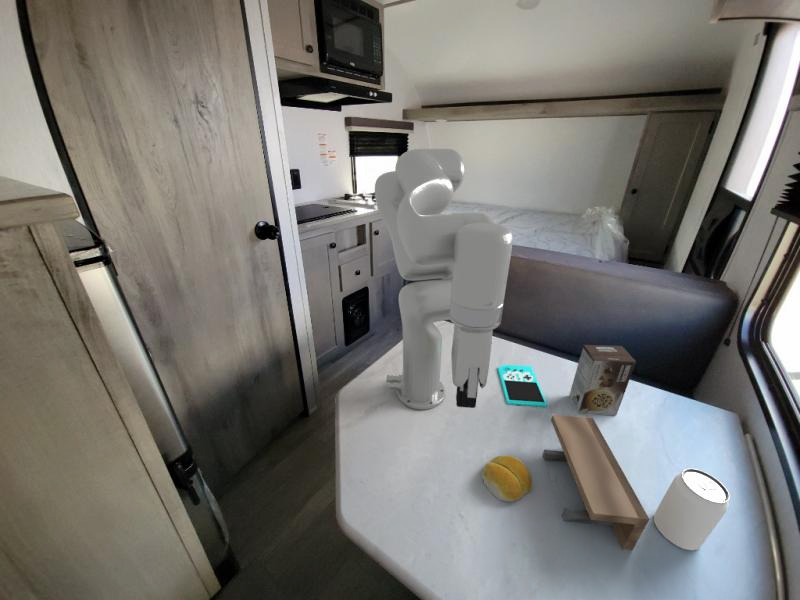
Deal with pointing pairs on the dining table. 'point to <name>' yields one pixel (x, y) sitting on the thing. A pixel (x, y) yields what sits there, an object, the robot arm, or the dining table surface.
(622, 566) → the dining table surface
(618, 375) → the coffee box
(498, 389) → the dining table surface
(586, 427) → the overhang shelf
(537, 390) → the handheld game console
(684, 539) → the can
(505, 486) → the bread roll
